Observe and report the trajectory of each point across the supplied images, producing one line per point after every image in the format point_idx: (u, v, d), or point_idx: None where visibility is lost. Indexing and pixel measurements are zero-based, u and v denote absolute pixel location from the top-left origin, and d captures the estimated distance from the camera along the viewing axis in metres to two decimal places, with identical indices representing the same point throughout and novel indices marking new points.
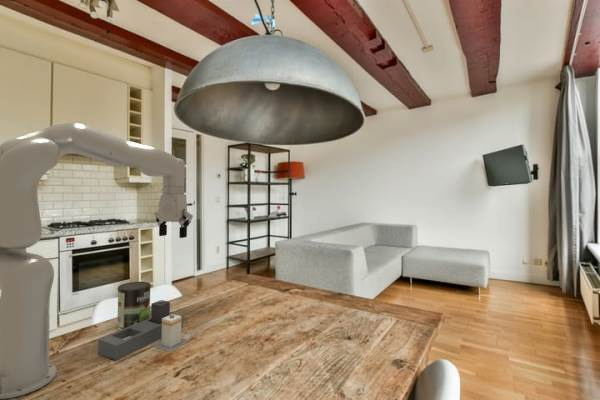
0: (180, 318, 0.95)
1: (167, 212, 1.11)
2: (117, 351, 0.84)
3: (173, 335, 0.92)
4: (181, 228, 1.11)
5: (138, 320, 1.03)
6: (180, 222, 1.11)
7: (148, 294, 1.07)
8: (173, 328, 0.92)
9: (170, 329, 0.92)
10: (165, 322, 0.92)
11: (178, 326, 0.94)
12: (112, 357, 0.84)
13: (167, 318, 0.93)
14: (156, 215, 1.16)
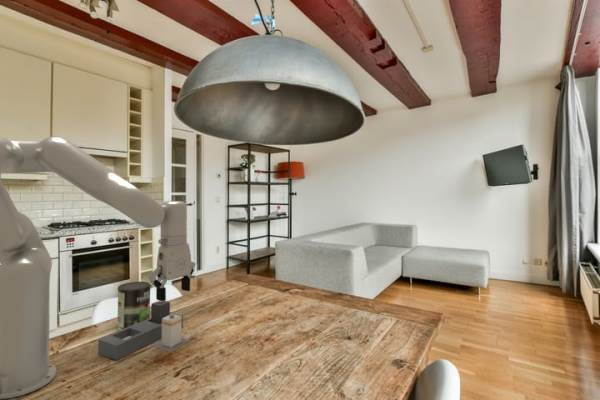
0: (180, 318, 0.95)
1: (180, 266, 0.93)
2: (117, 351, 0.84)
3: (173, 335, 0.92)
4: None
5: (138, 320, 1.03)
6: (188, 273, 0.98)
7: (148, 294, 1.07)
8: (173, 328, 0.92)
9: (170, 329, 0.92)
10: (165, 322, 0.92)
11: (178, 326, 0.94)
12: (112, 357, 0.84)
13: (167, 318, 0.93)
14: (154, 277, 0.87)
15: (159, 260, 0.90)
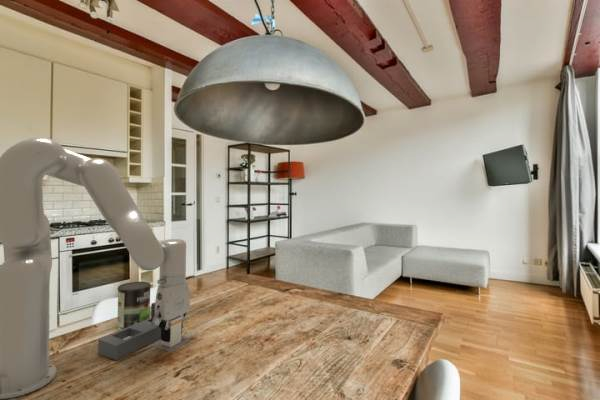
0: (180, 318, 0.95)
1: (178, 306, 0.93)
2: (117, 351, 0.84)
3: (173, 335, 0.92)
4: None
5: (138, 320, 1.03)
6: (182, 316, 0.96)
7: (148, 294, 1.07)
8: (173, 328, 0.92)
9: (170, 329, 0.92)
10: None
11: (178, 326, 0.94)
12: (112, 357, 0.84)
13: None
14: (157, 322, 0.89)
15: (157, 300, 0.90)
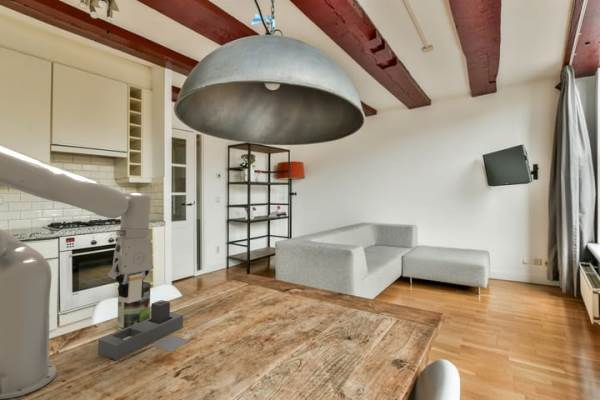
0: (141, 275, 0.91)
1: (138, 261, 0.89)
2: (117, 351, 0.84)
3: (131, 291, 0.88)
4: None
5: (138, 320, 1.03)
6: (143, 273, 0.92)
7: (148, 294, 1.07)
8: (132, 284, 0.89)
9: (128, 285, 0.88)
10: None
11: (138, 283, 0.90)
12: (112, 357, 0.84)
13: None
14: (114, 274, 0.85)
15: (116, 253, 0.86)
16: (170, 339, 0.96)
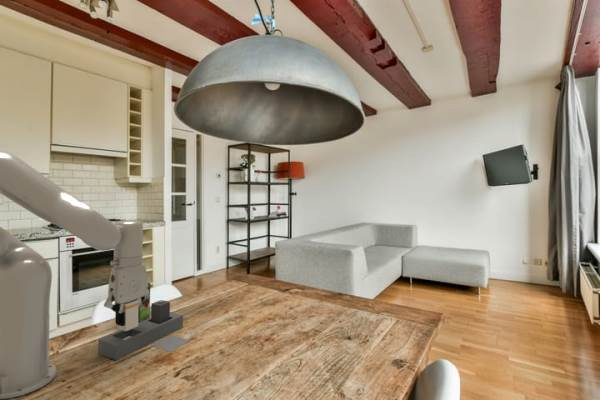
0: (137, 302, 0.91)
1: (134, 289, 0.89)
2: (117, 351, 0.84)
3: (128, 319, 0.89)
4: None
5: (138, 320, 1.03)
6: (139, 300, 0.93)
7: (148, 294, 1.07)
8: (128, 312, 0.89)
9: (125, 313, 0.88)
10: None
11: (134, 310, 0.91)
12: (112, 357, 0.84)
13: None
14: (110, 305, 0.85)
15: (111, 282, 0.86)
16: (170, 339, 0.96)
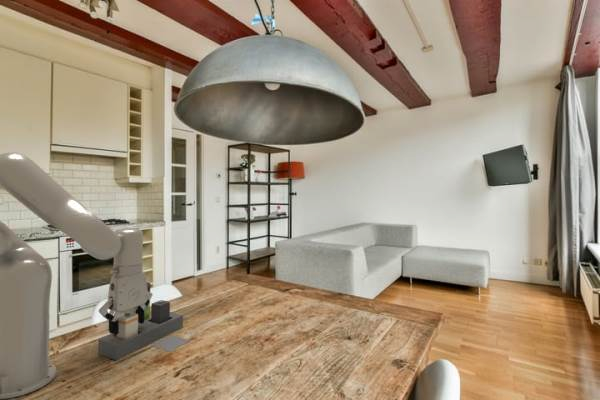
0: (136, 316, 0.91)
1: (133, 297, 0.89)
2: (117, 351, 0.84)
3: (127, 334, 0.89)
4: None
5: None
6: (143, 304, 0.94)
7: None
8: (128, 327, 0.89)
9: (124, 328, 0.88)
10: (120, 320, 0.89)
11: (134, 324, 0.91)
12: (112, 357, 0.84)
13: (122, 316, 0.90)
14: (105, 311, 0.84)
15: (110, 291, 0.86)
16: (170, 339, 0.96)
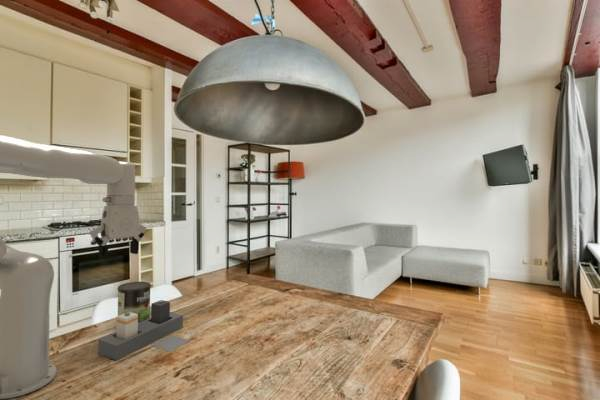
0: (136, 316, 0.91)
1: (125, 227, 0.93)
2: (117, 351, 0.84)
3: (127, 334, 0.89)
4: None
5: (138, 320, 1.03)
6: (136, 236, 0.98)
7: (148, 294, 1.07)
8: (128, 327, 0.89)
9: (124, 328, 0.88)
10: (120, 320, 0.89)
11: (134, 324, 0.91)
12: (112, 357, 0.84)
13: (122, 316, 0.90)
14: (95, 234, 0.87)
15: (103, 218, 0.90)
16: (170, 339, 0.96)
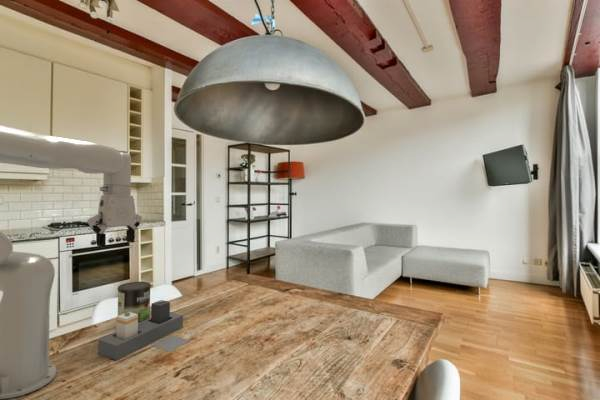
0: (136, 316, 0.91)
1: (122, 215, 0.96)
2: (117, 351, 0.84)
3: (127, 334, 0.89)
4: None
5: (138, 320, 1.03)
6: (132, 225, 1.01)
7: (148, 294, 1.07)
8: (128, 327, 0.89)
9: (124, 328, 0.88)
10: (120, 320, 0.89)
11: (134, 324, 0.91)
12: (112, 357, 0.84)
13: (122, 316, 0.90)
14: (93, 222, 0.90)
15: (100, 207, 0.93)
16: (170, 339, 0.96)
